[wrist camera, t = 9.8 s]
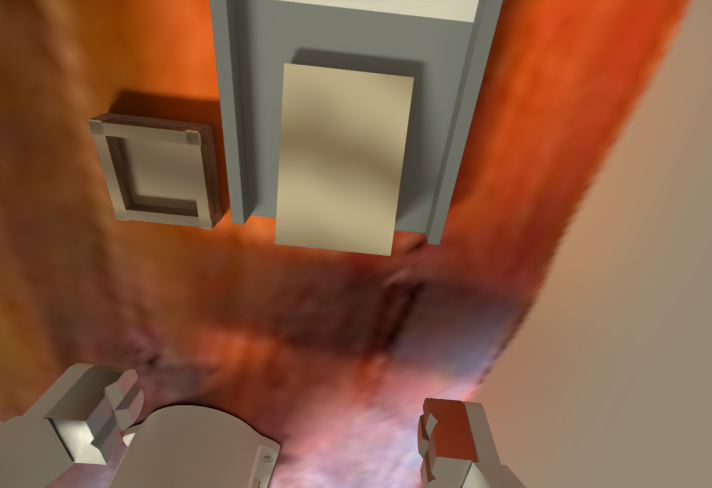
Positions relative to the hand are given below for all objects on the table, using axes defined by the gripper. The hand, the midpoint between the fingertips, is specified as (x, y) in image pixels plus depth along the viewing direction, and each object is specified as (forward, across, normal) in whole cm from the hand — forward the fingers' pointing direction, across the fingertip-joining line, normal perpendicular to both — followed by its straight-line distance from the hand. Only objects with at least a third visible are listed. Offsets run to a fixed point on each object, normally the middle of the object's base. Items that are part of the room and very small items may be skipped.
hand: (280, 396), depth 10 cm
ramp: (+16, 0, -3) cm, 16 cm away
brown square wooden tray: (+18, +12, 0) cm, 21 cm away
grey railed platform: (+18, 0, -5) cm, 18 cm away
